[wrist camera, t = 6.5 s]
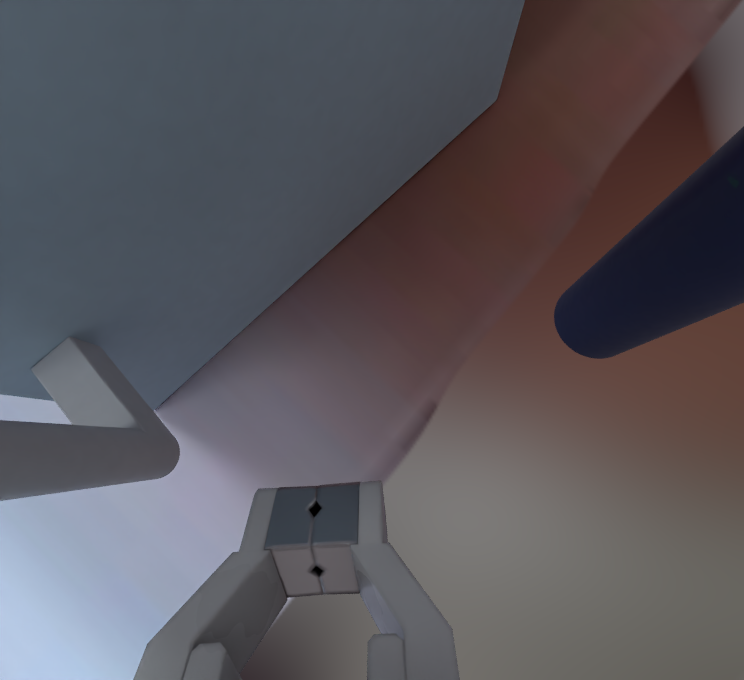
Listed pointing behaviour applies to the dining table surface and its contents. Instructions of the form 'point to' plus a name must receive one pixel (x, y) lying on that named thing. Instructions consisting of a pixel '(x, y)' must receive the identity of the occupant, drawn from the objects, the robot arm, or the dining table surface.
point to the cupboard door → (195, 188)
